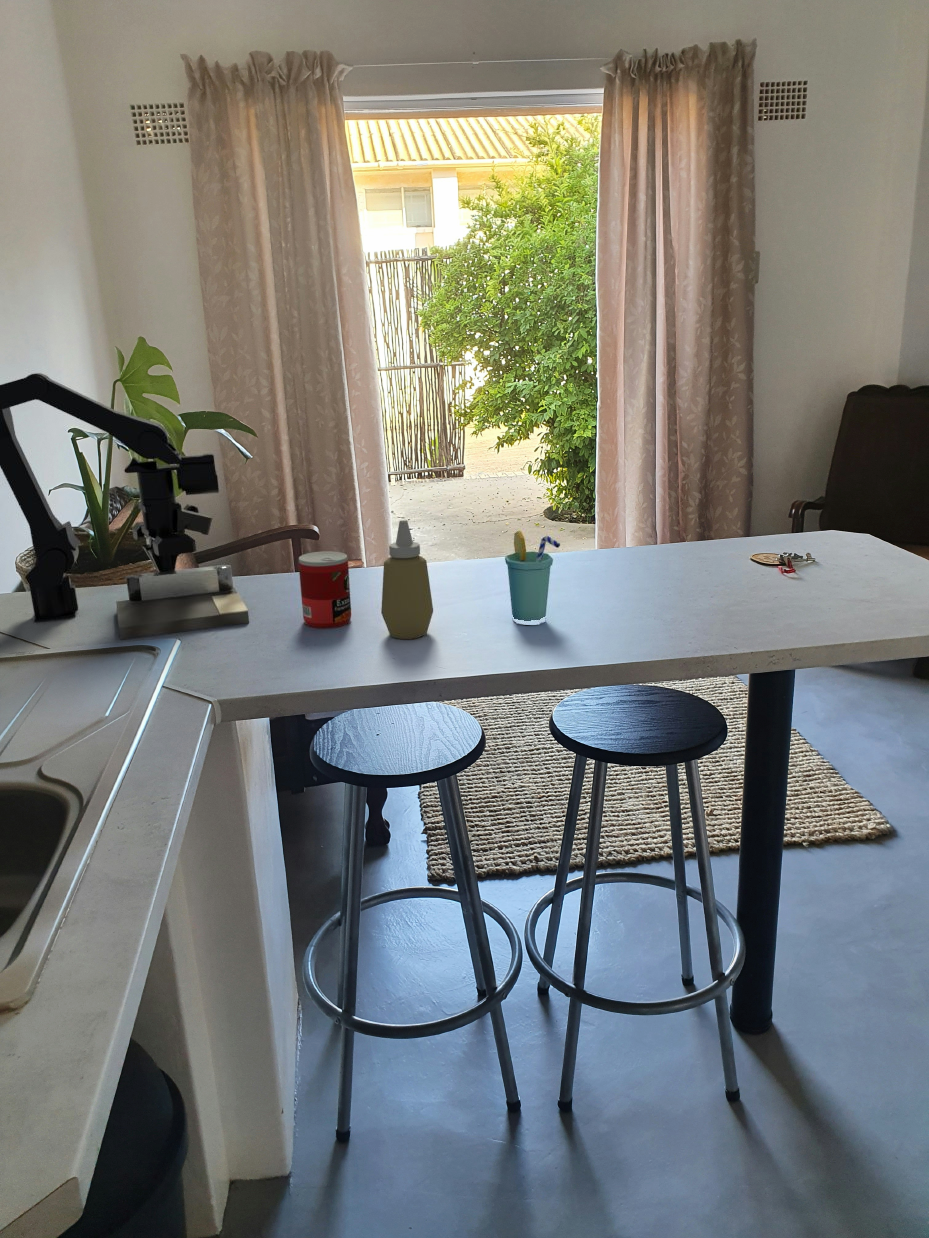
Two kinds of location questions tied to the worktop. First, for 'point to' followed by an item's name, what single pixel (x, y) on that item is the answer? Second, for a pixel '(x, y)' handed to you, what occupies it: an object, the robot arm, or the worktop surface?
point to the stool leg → (179, 582)
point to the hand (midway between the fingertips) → (168, 584)
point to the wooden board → (180, 613)
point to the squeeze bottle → (406, 588)
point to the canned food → (325, 589)
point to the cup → (529, 579)
